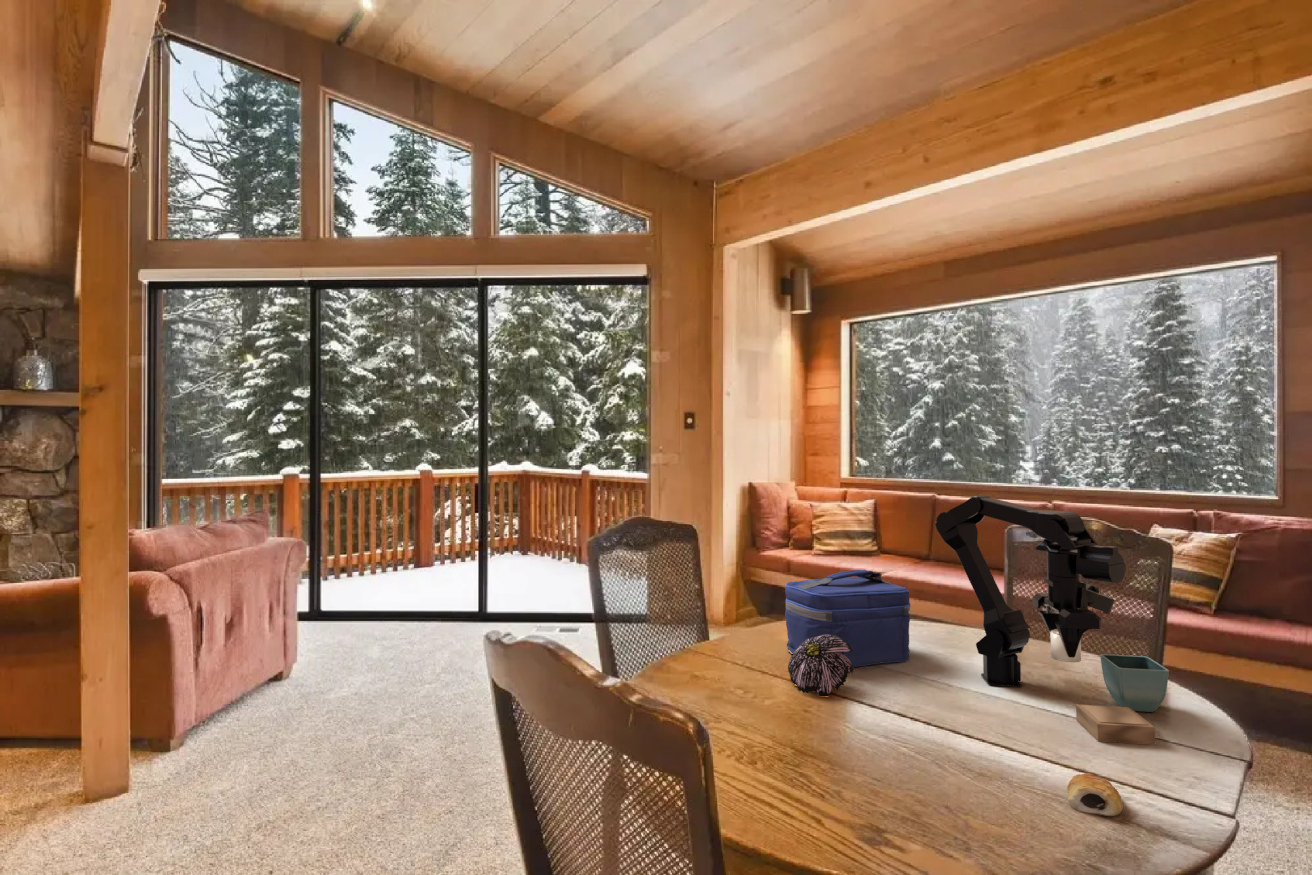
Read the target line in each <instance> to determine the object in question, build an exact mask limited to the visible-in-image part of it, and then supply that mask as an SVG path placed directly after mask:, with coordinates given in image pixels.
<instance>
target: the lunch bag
mask: <svg viewBox="0 0 1312 875" xmlns="http://www.w3.org/2000/svg"><path fill="white" fill-rule="evenodd" d="M784 587H785V589H784V590H785V591H784V592H785V597H786V598H785V613H784V619H785V626H786V631H787V643H786V647H787V649H788V650H790V651H791V652H792V653H794V652H795V651H796V650H797V649H798V648H799V646H800V645H801V644H802V643H803V642H804V641H805V640H806V639H808V638H812V637H818V636H821V635H826V634H832V635H837V636H839V637H841V638H843V639H844V640H846V641H847V643H849V644H850V647H851V649H852V650H853V651H851V652H842V653H843V654H845V655H846V657H847V658H848V659H849V660H850V661H851V663H852V665H853V668H854V667H866V666H870V665H877V664H885V663H902V662H908V661H910V621H911V620H910V619H911V618H910V613H909V612H910V611H911V603H910V591H909V589H908V588H907V587H905V586H900V585H897V584H894V583H890V582H888V581H885V580H883V579H882V574H881V572H878V571H872V570H868V569H867V570H866V569H853V570H845V571H844V570H843V571H839V572H836V573H832V574H829V575H827V576H825V577H824V578H814V579H813V578H812V579H805V580H800V581H796V580H795V581H788V582H787V583H785V586H784ZM788 650H787V651H788Z"/></svg>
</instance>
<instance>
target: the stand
mask: <svg viewBox="0 0 1312 875" xmlns="http://www.w3.org/2000/svg"><path fill="white" fill-rule="evenodd" d="M1075 711H1076V712H1075V714H1076V716H1075V717H1076V718H1075V720H1077V721H1076V723H1078V724H1079V723H1080V724H1081V725H1080V724H1079V725H1080V726H1081V727H1082V728H1083V729H1084V730H1086V732H1088V733H1089V734H1090V735H1091V737H1093V738H1094V739H1095V740H1096V741H1097V742H1102V741H1104V743H1121V744H1137V745H1138V744H1139V745H1153V744H1155V745H1156V727H1155V726H1154V725H1153V724H1152V723H1150V722H1149V721H1148V720H1146V719H1145V718H1143V717H1142V716H1141V715H1140V714H1139V713H1137V711H1133V710H1132V709H1131V708H1129V707H1121V706H1109V705H1090V704H1075Z"/></svg>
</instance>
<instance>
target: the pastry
mask: <svg viewBox="0 0 1312 875" xmlns="http://www.w3.org/2000/svg"><path fill="white" fill-rule="evenodd" d="M1067 795H1068V796H1067V799H1066V800H1067V802H1068V804H1069V806H1070V807H1071V808H1073V809H1074V810H1077V811H1079V812H1082V813H1088V814H1095V815H1100V816H1106V817H1116V816H1119V815H1120V814H1121V813H1122V811H1123V808H1124V805H1123V801H1122V796H1121V794H1120V793H1119V791H1118V789H1117V788H1115V787H1114V785H1113V784H1112V783H1111V782H1110V781H1109V780H1107V779H1106V778H1103V777H1100V776H1098V775H1095V774H1093V773H1091V772H1088V773H1087V772H1084V773H1082V774H1080V773H1079V774H1076V775H1073V776H1072V778H1071V779H1070V780H1069V782H1068V784H1067Z"/></svg>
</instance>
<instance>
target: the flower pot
mask: <svg viewBox="0 0 1312 875" xmlns="http://www.w3.org/2000/svg"><path fill="white" fill-rule="evenodd" d="M1099 657H1100V665H1101V672H1102V678H1103V682H1104V684H1105V686H1106V689H1107V691H1108V693H1109V695H1110V696H1111V698H1112V700H1113V701H1114V702H1115V703H1116V704H1117V705H1118V706H1119V707H1129V708H1131V709H1132V710H1133V711H1135V712H1143V713H1144V712H1147V713H1153V712H1155V711H1156V710H1157V709H1158V708H1159V707H1160V706H1161V705H1162V703H1163V701H1164V700H1165V697H1166V694H1167V689H1168V680H1169V674H1170V670H1169V669H1168V668H1166V667H1164V666H1163V665H1162V664H1160V663H1158V662H1157V661H1155V660H1153V659H1152V658H1150V657H1149V656H1144V655H1120V654H1104V653H1103V654H1102V653H1101V654H1099Z"/></svg>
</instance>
